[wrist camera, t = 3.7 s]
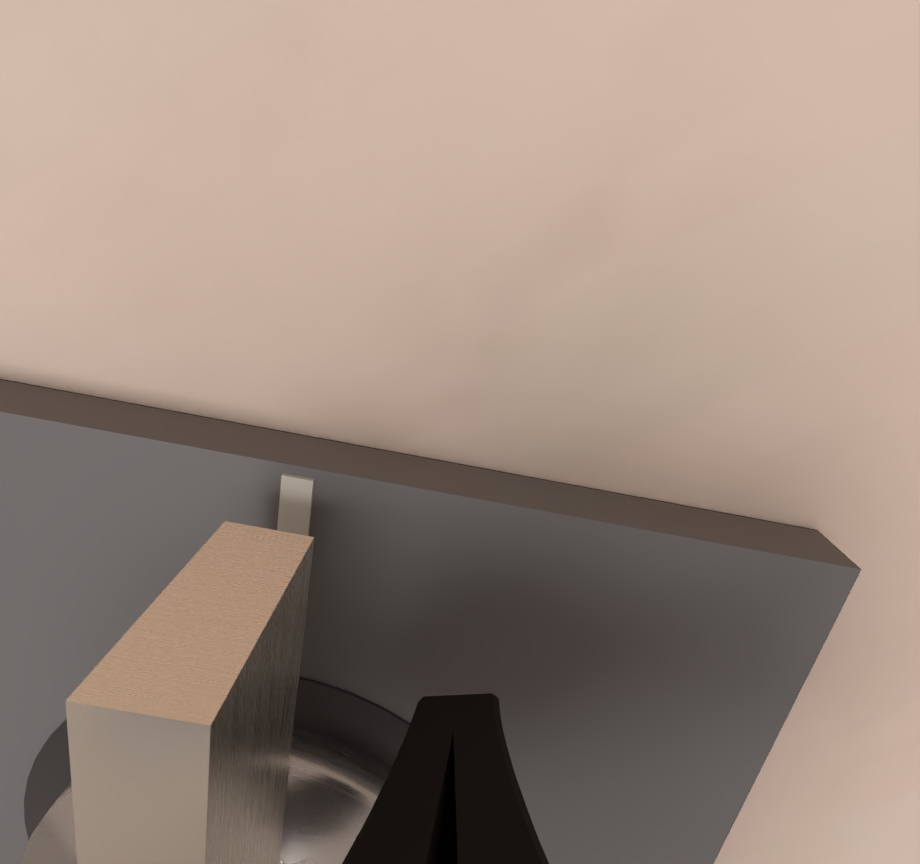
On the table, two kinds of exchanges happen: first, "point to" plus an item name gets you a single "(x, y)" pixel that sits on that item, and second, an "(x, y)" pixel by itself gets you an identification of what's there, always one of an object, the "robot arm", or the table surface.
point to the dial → (208, 728)
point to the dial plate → (422, 612)
